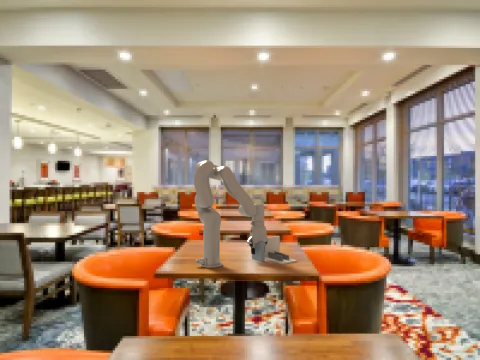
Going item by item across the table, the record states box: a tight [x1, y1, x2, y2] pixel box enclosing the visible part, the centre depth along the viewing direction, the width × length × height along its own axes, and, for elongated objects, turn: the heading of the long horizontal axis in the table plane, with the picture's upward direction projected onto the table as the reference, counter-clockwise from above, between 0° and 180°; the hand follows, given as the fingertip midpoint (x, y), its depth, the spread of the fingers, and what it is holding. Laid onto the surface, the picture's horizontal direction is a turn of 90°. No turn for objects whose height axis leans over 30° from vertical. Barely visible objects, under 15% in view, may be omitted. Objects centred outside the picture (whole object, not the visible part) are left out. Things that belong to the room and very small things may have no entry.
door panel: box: [251, 241, 266, 263], centre depth 190 cm, size 4×10×12 cm, turn 32°
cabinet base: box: [265, 235, 298, 265], centre depth 191 cm, size 12×18×13 cm, turn 32°
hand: (258, 253), depth 190 cm, fingers open, 6 cm apart
